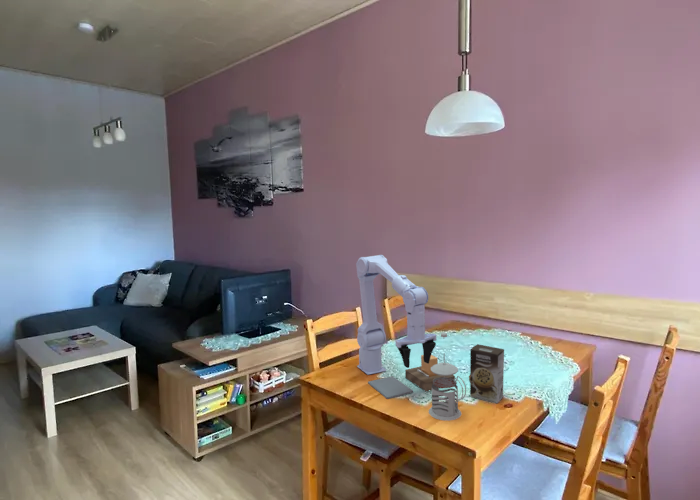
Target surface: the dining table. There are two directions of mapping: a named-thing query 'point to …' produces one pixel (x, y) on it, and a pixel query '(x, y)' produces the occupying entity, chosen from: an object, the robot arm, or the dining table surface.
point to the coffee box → (486, 373)
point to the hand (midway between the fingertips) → (416, 364)
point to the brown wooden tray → (422, 378)
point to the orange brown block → (428, 365)
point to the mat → (390, 387)
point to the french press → (445, 391)
